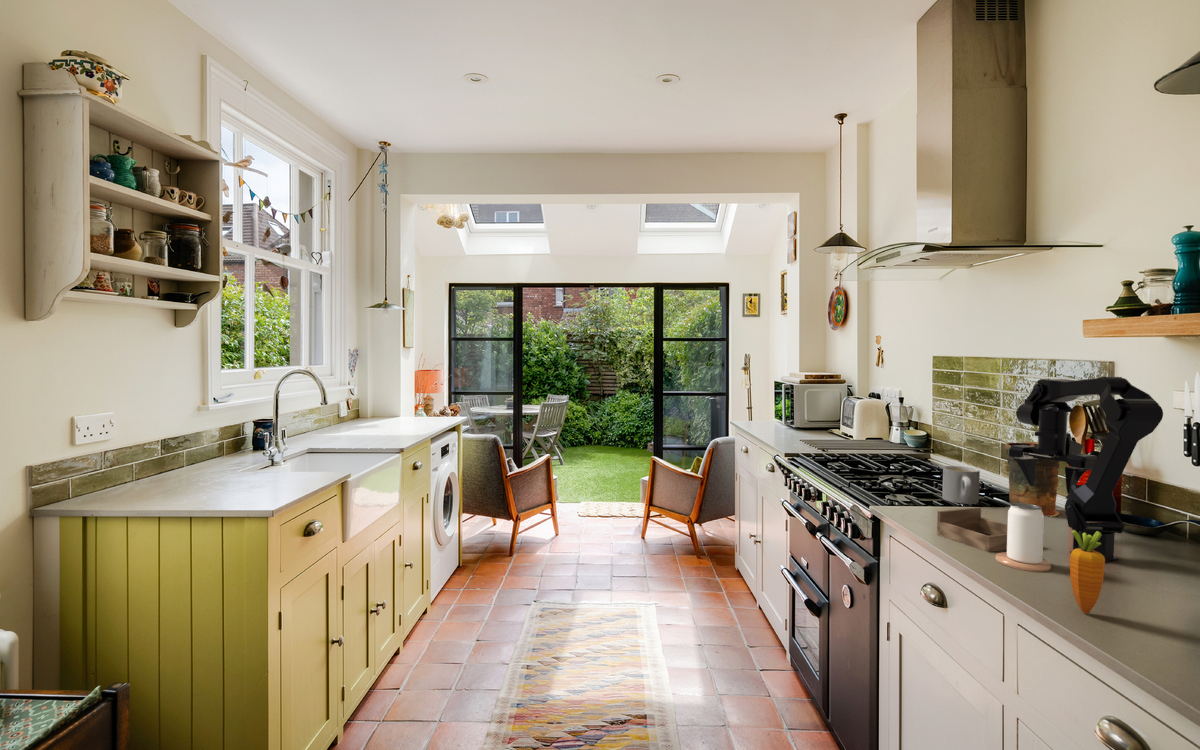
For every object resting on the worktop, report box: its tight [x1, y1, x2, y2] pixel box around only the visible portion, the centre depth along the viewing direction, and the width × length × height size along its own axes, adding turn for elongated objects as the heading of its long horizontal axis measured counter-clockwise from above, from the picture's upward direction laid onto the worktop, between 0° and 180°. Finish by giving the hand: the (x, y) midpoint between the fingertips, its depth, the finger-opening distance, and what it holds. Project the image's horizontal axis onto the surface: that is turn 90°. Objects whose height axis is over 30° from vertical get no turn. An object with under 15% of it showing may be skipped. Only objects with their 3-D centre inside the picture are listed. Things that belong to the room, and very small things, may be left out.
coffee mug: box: [941, 465, 981, 505], centre depth 188 cm, size 13×10×10 cm
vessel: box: [1004, 441, 1060, 518], centre depth 176 cm, size 14×14×20 cm
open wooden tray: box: [936, 506, 1008, 553], centre depth 148 cm, size 14×14×6 cm
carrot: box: [1069, 530, 1106, 615], centre depth 106 cm, size 5×5×15 cm
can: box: [1006, 503, 1045, 564], centre depth 131 cm, size 6×6×12 cm
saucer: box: [995, 551, 1052, 573], centre depth 132 cm, size 10×10×1 cm
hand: (1050, 489), depth 151 cm, fingers open, 9 cm apart
